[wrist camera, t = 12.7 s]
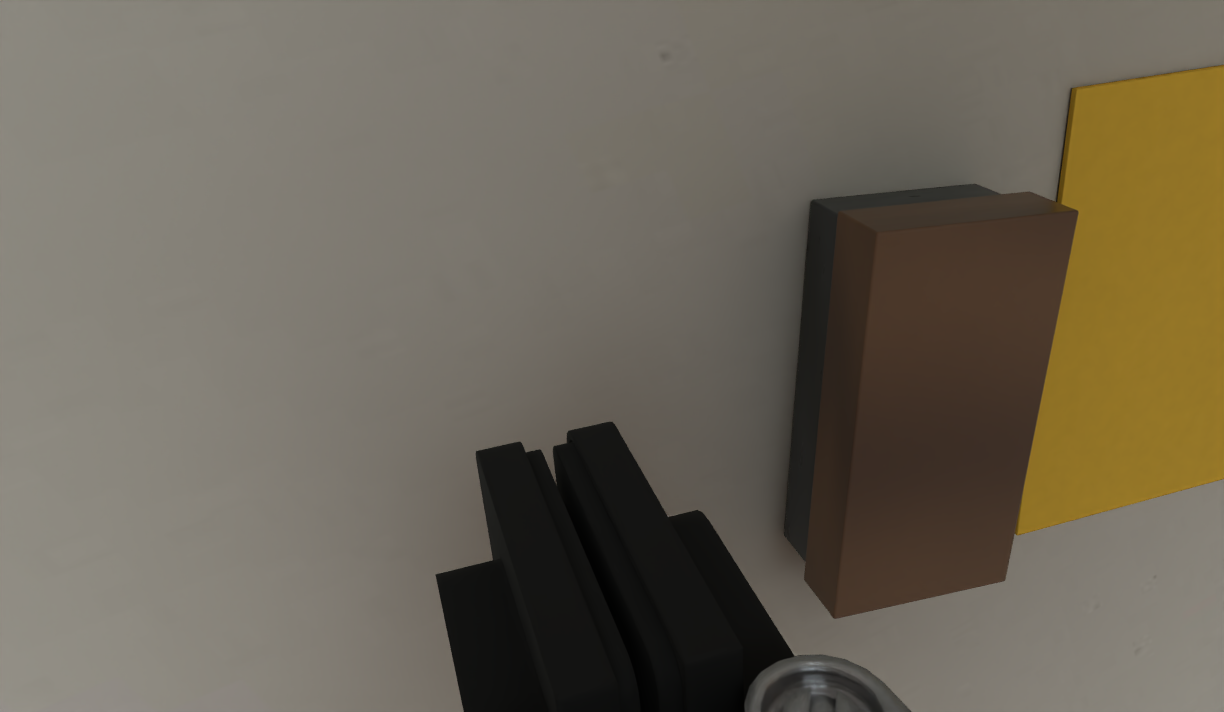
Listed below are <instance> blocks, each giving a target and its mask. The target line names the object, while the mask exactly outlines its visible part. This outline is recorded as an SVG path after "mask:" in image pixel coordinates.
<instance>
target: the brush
mask: <svg viewBox="0 0 1224 712" xmlns="http://www.w3.org/2000/svg"><path fill="white" fill-rule="evenodd" d="M1078 214H1079V212H1078V210H1075V209H1073V208H1070V207H1068V206H1065V205H1063V204H1060V203H1057V202H1055V201H1052V200H1050V199H1047V198H1045V197H1042V196H1040V195H1037V194H1034V193H1032V192H1020V193H1011V194H999V193H997V192H994V191H992V190H989V189H987V188H985V187H982V186H980V185H977V184H969V185H959V186H948V187H938V188H928V189H918V190H908V191H897V192H887V193H877V194H867V195H857V196H846V197H836V198H826V199H816V200H812V201H811V207H810V219H809V231H808V244H807V256H806V269H805V281H804V294H803V306H802V319H801V331H800V343H799V356H798V368H797V381H796V393H795V406H794V418H793V430H792V443H791V455H790V468H789V480H788V493H787V505H786V518H785V530H784V535H785V537H786V538H787V540H788V541H789V542H790V543H791V545H792V546H793V547H794V548H795V550H796V551H797V552H798V553H799V555H800V556H801V557H802V559H803V560H804V561H805V573H804V580H805V582H806V583H807V584H808V586H809V587H810V588H811V589H812V591H813V592H814V593H815V595H816V596H817V597H818V599H819V600H820V601H821V602H822V604H823V605H824V606H825V608H826V609H827V610H828V612H829V613H830V614H831V615H832V617H833V618H834V619H837V618H841V617H846V616H850V615H855V614H859V613H864V612H868V611H873V610H877V609H882V608H886V607H891V606H895V605H900V604H904V603H909V602H913V601H918V600H922V599H926V598H931V597H935V596H940V595H944V594H949V593H953V592H958V591H962V590H967V589H971V588H976V587H980V586H985V585H989V584H994V583H998V582H1003V581H1005V579H1006V574H1007V569H1008V564H1009V559H1010V554H1011V549H1012V544H1013V539H1014V534H1015V529H1016V524H1017V519H1018V514H1019V509H1020V504H1021V499H1022V494H1023V489H1024V484H1025V479H1026V474H1027V469H1028V464H1029V459H1030V454H1031V449H1032V444H1033V439H1034V434H1035V429H1036V424H1037V419H1038V414H1039V409H1040V404H1041V399H1042V394H1043V389H1044V384H1045V379H1046V374H1047V369H1048V364H1049V359H1050V354H1051V349H1052V344H1053V339H1054V334H1055V329H1056V324H1057V319H1058V314H1059V309H1060V304H1061V299H1062V294H1063V289H1064V284H1065V279H1066V274H1067V269H1068V264H1069V259H1070V254H1071V249H1072V244H1073V239H1074V234H1075V229H1076V224H1077V219H1078Z"/></svg>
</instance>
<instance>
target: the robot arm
mask: <svg viewBox="0 0 1224 712" xmlns="http://www.w3.org/2000/svg"><path fill="white" fill-rule="evenodd" d="M553 458H554V466H555V474H556V482H557V486H556V483H555V481H554V479H553V476H552V474H551V472H550V469H549V467H548V464H547V462H546V460H545V457H544V455H543V453H542V451H541V450H540V449H539V450H535V451H530V452H525V450H524V447H523V445H522V443H521V442H515V443H511V444H506V445H502V446H497V447H493V448H488V449H484V450H479V451H476V461H477V467H478V473H479V479H480V485H481V491H482V497H483V503H484V509H485V515H486V521H487V527H488V533H489V539H490V545H491V551H492V556H493V561H489V562H484V563H480V564H476V565H472V566H468V567H464V568H460V569H456V570H452V571H448V572H444V573H440V574H436V579H437V584H438V589H439V593H440V598H441V603H442V608H443V613H444V618H445V623H446V628H447V632H448V637H449V642H450V647H451V652H452V657H453V662H454V666H455V671H456V676H457V681H458V686H459V691H460V695H461V700H462V705H463V710H464V712H911V711H910V710H909V709H908V708H907V706H906V705H905V704H904V703H903V702H902V701H901V700H900V699H899V698H898V697H897V696H896V695H895V694H894V693H893V692H892V691H891V690H890V689H889V688H888V687H887V686H886V685H885V684H884V683H883V682H882V681H881V680H880V679H878V678H877V677H876V676H875V675H873V674H872V673H871V672H870V671H868V670H867V669H865V668H863V667H861V666H859V665H857V664H854V663H852V662H850V661H848V660H846V659H842V658H837V657H832V656H827V655H798V656H794V655H793V653H792V651H791V650H790V648H789V647H788V645H787V644H786V642H785V640H784V639H783V637H782V636H781V634H780V632H779V631H778V629H777V628H776V626H775V624H774V623H773V621H772V620H771V618H770V617H769V615H768V613H767V612H766V610H765V609H764V607H763V605H762V604H761V602H760V601H759V599H758V598H757V596H756V594H755V593H754V591H753V590H752V588H751V586H750V585H749V583H748V582H747V580H746V579H745V577H744V575H743V574H742V572H741V571H740V569H739V567H738V566H737V564H736V563H735V561H734V560H733V558H732V556H731V555H730V553H729V552H728V550H727V548H726V547H725V545H724V544H723V542H722V541H721V539H720V537H719V536H718V534H717V533H716V531H715V529H714V528H713V526H712V525H711V523H710V522H709V520H708V519H707V518H706V516H705V515H704V514H703V513H702V512H700V511H698V510H696V511H692V512H687V513H683V514H679V515H675V516H671V517H668V516H667V515H666V513H665V511H664V509H663V508H662V506H661V504H660V502H659V501H658V499H657V497H656V495H655V494H654V492H653V490H652V488H651V487H650V485H649V483H648V481H647V480H646V478H645V476H644V474H643V473H642V471H641V469H640V467H639V466H638V464H637V462H636V461H635V459H634V457H633V455H632V454H631V452H630V450H629V448H628V447H627V445H626V443H625V441H624V440H623V438H622V436H621V434H620V433H619V431H618V429H617V427H616V426H615V424H614V423H613V422H606V423H601V424H597V425H592V426H588V427H583V428H579V429H574V430H570V431H568V433H567V443H566V444H562V445H557V446H554V447H553Z"/></svg>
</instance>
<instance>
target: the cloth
mask: <svg viewBox="0 0 1224 712" xmlns="http://www.w3.org/2000/svg"><path fill="white" fill-rule="evenodd" d="M1057 203H1060V204H1063V205H1065V206H1068V207H1070V208H1073V209H1075V210H1078V212H1079V214H1078V219H1077V224H1076V229H1075V234H1074V239H1073V244H1072V249H1071V254H1070V259H1069V264H1068V269H1067V274H1066V279H1065V284H1064V289H1063V294H1062V299H1061V304H1060V309H1059V314H1058V319H1057V324H1056V329H1055V334H1054V339H1053V344H1052V349H1051V354H1050V359H1049V364H1048V369H1047V374H1046V379H1045V384H1044V389H1043V394H1042V399H1041V404H1040V409H1039V414H1038V419H1037V424H1036V429H1035V434H1034V439H1033V444H1032V449H1031V454H1030V459H1029V464H1028V469H1027V474H1026V479H1025V484H1024V489H1023V494H1022V499H1021V504H1020V509H1019V514H1018V519H1017V524H1016V529H1015V534H1016V535H1021V534H1025V533H1028V532H1032V531H1035V530H1039V529H1043V528H1046V527H1050V526H1054V525H1057V524H1061V523H1065V522H1068V521H1072V520H1076V519H1079V518H1083V517H1087V516H1090V515H1094V514H1098V513H1101V512H1105V511H1108V510H1112V509H1116V508H1119V507H1123V506H1127V505H1130V504H1134V503H1138V502H1141V501H1145V500H1149V499H1152V498H1156V497H1160V496H1163V495H1167V494H1171V493H1174V492H1178V491H1182V490H1185V489H1189V488H1192V487H1196V486H1200V485H1203V484H1207V483H1211V482H1214V481H1218V480H1222V479H1224V65H1220V66H1213V67H1207V68H1200V69H1194V70H1187V71H1181V72H1174V73H1167V74H1161V75H1154V76H1148V77H1141V78H1135V79H1128V80H1122V81H1115V82H1109V83H1102V84H1096V85H1089V86H1083V87H1076V88H1072V93H1071V101H1070V108H1069V116H1068V123H1067V131H1066V139H1065V146H1064V154H1063V161H1062V169H1061V177H1060V184H1059V192H1058V199H1057Z"/></svg>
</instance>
